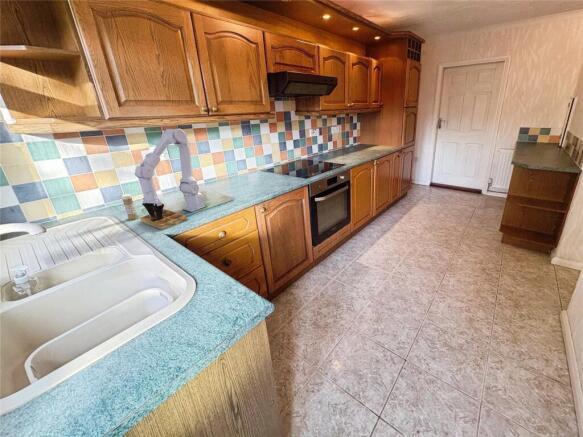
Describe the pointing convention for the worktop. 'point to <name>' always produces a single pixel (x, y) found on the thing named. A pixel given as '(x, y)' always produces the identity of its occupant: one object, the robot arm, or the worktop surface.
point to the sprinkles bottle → (129, 206)
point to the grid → (165, 219)
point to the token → (155, 218)
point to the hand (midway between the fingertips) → (156, 216)
